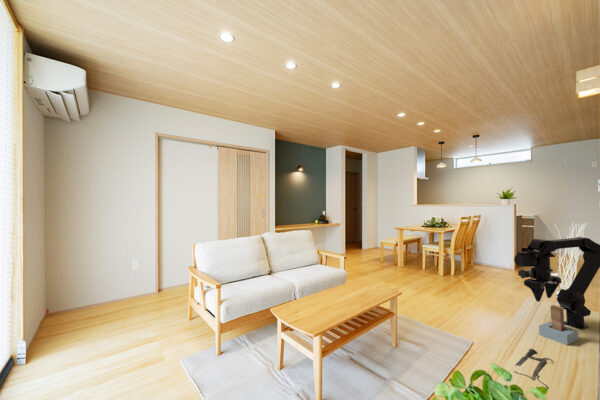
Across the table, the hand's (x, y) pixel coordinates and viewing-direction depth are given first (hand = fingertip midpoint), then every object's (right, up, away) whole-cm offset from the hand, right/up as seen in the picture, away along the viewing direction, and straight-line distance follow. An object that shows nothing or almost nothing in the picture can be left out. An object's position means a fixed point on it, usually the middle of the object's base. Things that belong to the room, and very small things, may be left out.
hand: (543, 299), depth 118 cm
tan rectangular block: (-4, -12, -11) cm, 16 cm away
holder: (-4, -12, -11) cm, 16 cm away
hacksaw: (-31, -13, -29) cm, 44 cm away
